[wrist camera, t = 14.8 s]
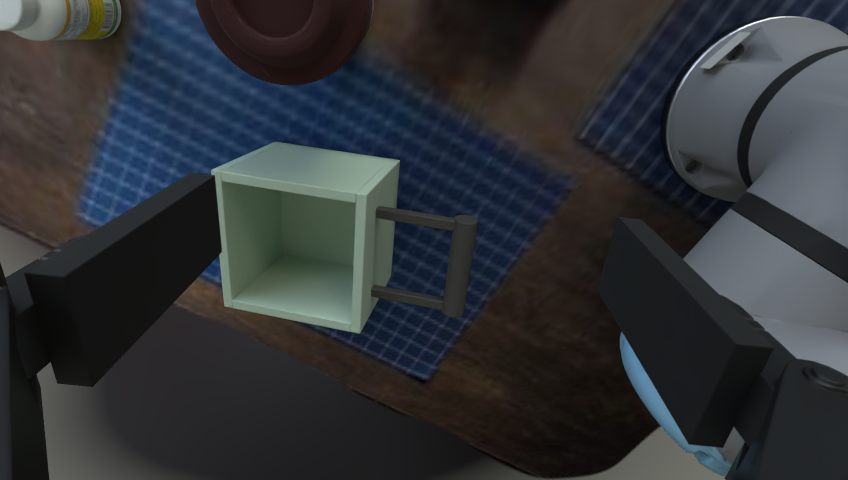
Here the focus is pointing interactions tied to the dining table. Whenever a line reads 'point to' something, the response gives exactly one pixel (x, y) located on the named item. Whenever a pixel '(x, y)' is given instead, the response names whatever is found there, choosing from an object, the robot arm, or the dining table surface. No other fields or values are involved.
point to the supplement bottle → (60, 19)
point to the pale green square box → (322, 236)
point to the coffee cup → (287, 35)
